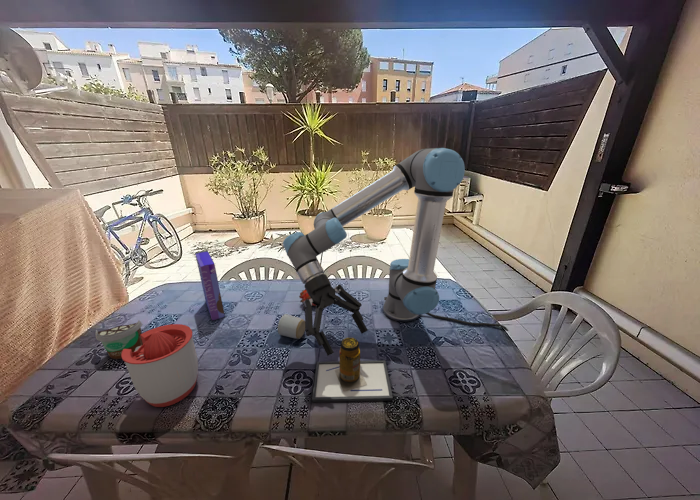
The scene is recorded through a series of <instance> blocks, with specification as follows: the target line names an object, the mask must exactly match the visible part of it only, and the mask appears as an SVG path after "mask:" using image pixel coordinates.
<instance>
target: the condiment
mask: <svg viewBox="0 0 700 500" xmlns="http://www.w3.org/2000/svg"><path fill="white" fill-rule="evenodd" d="M338 355H339V361H340V369H337V370H335V373H336V375H337V378H338V380H339V382H340V385H341V387H342V389H343V391H348V390H351V389H355V388H358V387H361V386H364V385H367V383H366V381H365V379H364V377H363V376H362V374H361V372H360V361H361V349H360V342H359V341H358V339H357V338H355V337H345V338H343V339H342V340H341V341H340V347H339V353H338Z"/></svg>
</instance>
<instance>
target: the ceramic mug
mask: <svg viewBox="0 0 700 500" xmlns="http://www.w3.org/2000/svg"><path fill="white" fill-rule="evenodd" d="M277 333H278V335H280V336H283V337H287V338H291V339H301V338H302V337H303V335H304V334H305V333H306V329H305V319H303V318H301V317H298V316H294V315H291V314H289V313H285V314H283V315H282V316H281V317H280V318H279V321H278V324H277Z"/></svg>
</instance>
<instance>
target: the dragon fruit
mask: <svg viewBox="0 0 700 500" xmlns="http://www.w3.org/2000/svg"><path fill="white" fill-rule="evenodd" d="M298 297H299V299H300V303H303V302H304V301H305V300H306V299H311V297H310V296H309V295H308V293H307V291H306V289H305V288H304V289H303V290H302V291H301V292H299V295H298ZM312 306H315V307H316V305H315V304H313V303H312Z"/></svg>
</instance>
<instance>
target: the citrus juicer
mask: <svg viewBox="0 0 700 500" xmlns="http://www.w3.org/2000/svg"><path fill="white" fill-rule="evenodd" d="M140 335H141V339H142V343H143V345H142V346H139V347H136V349H135V351H134V352H132V350H131V349H123V351H122V354H121V357H122V361H123V362H124V364H125V366H126V369H127V372H128V374H129V377H130V380H131V382H132V384H133V387H134V388H135V391H136V392H137V394H138V395H139V396H140V397H141V398H142V399H143V401H145V402H146V404H149V405H150V406H152V407H155V408H165V407H170V406H173V405H175V404H177V403H179V402H180V401H182V400H184V399H185V398H186V397H188V396H189V395H190V394H191V393H192V392H193V390H194V389H195V387H196V385H197V381H198V378H199V377H198V376H199V358H198V354H197V351H196V345H195V341H194V338H193V329H192V328H191V327H190V326H188V325H185V324H182V323H173V324H171V323H170V324H165V325H160V326H156V327H154V328H151V329H149V330H146V331H144V332H142V334H140Z"/></svg>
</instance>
